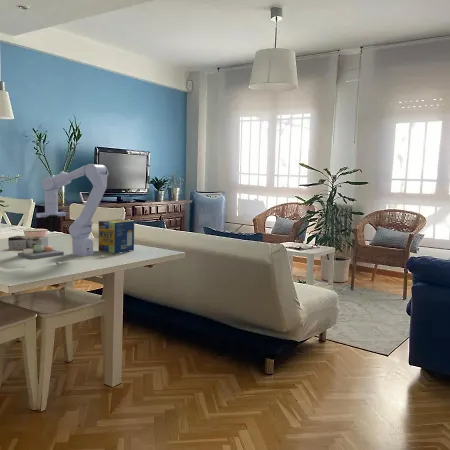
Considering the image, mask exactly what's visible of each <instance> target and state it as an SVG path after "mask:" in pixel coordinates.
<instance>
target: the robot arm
mask: <svg viewBox="0 0 450 450" xmlns="http://www.w3.org/2000/svg"><path fill="white" fill-rule="evenodd" d="M109 174H110V172H109V170H108V168H107V166H105V165H104V164H95V163H88V164H86V165H85V164H84V165H82V166H81V167H79V168H76V169H74V170H72V171H70V172H66V171H59V174H56V175H52V176H51V177H45V178H44V179H42V181H41V187H42V189H44V212H36V215H35V216H36V218H38V219H39V218H43V220H44V222H45V223H46V225H47V228H48V231H49V233H54V232H55V230H56V226H57V224H58V221H59V220H60V217H67V212H66V211H59V202H58V201H59V195H58V194H59V190H60V188H61V187H64V186H67V185H69V184H70V183H72V180H75V179H78V178H80V177H84V176H86V178H87V179H88V181H90V183H91V184H92V189H91V191H90V194H89V195H88V197H87V200H86V201H85V204H84V206H83V208H82V211H81V213H79V214H80V215H79V216H77V218H75V219H74V221H73V223H72V224H70V226H69V228H68V233H69V235H70V236H71V239H72V240H71V243H72V244H71V245H72V251H71V252H72V256H80V257H87V256H93V255H94V242H93V240H92V239H91V238H90V234H91V232H92V230H93V229H92V226H93V224H94V223H93V221H92V219H93V218H94V217H93V216H94V215H95V214H96V211H97V209H98V207H99V204H100V202H101V201H102V198H103V196H104V194H105V191H106V190H107V187H108V176H109Z"/></svg>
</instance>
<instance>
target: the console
mask: <svg viewBox="0 0 450 450" xmlns="http://www.w3.org/2000/svg"><path fill="white" fill-rule="evenodd" d="M64 255H65V252H64V251H62V250H61V251H60V250H55V249H53V251H48V252H46V251H44V249H43V252H41V253H35V252H34V250H33V254H23V251H19V252H17V256H18V257H20V258H21V257H22V258H26V259H29V260H37V259H44V258H53V257H58V256H64Z"/></svg>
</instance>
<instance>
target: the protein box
mask: <svg viewBox="0 0 450 450" xmlns="http://www.w3.org/2000/svg"><path fill="white" fill-rule="evenodd" d="M129 250H133V251H135V221H134V220H130V219H121V218H117V219H107V220H99V221H98V252H100V253H105V254H110V253H113V254H112V255H116V254H115V253H118V254H120V253H119V252H123V253H125V252H124V251H128V252H130V251H129Z"/></svg>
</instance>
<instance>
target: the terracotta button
mask: <svg viewBox="0 0 450 450" xmlns="http://www.w3.org/2000/svg"><path fill="white" fill-rule="evenodd" d="M43 250H44V251H46V252H48V251H53V250H54V246H51V245H48V246H46V247H44V249H43Z"/></svg>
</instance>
